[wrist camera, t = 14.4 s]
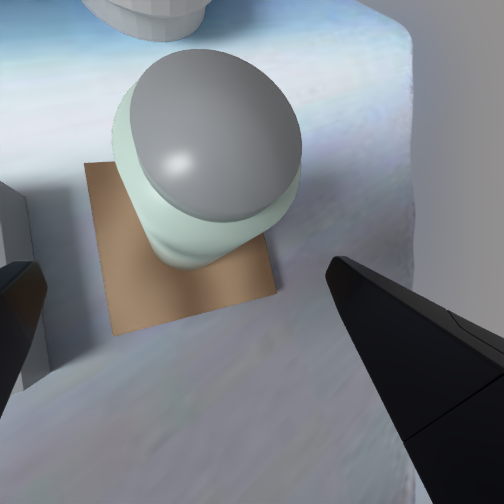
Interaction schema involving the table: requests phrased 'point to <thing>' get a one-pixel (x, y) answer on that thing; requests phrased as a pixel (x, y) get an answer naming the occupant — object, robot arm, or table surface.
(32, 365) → the grey square tray
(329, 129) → the table surface
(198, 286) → the walnut pad
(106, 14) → the flag stand
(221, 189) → the grey-lidded mint jar
